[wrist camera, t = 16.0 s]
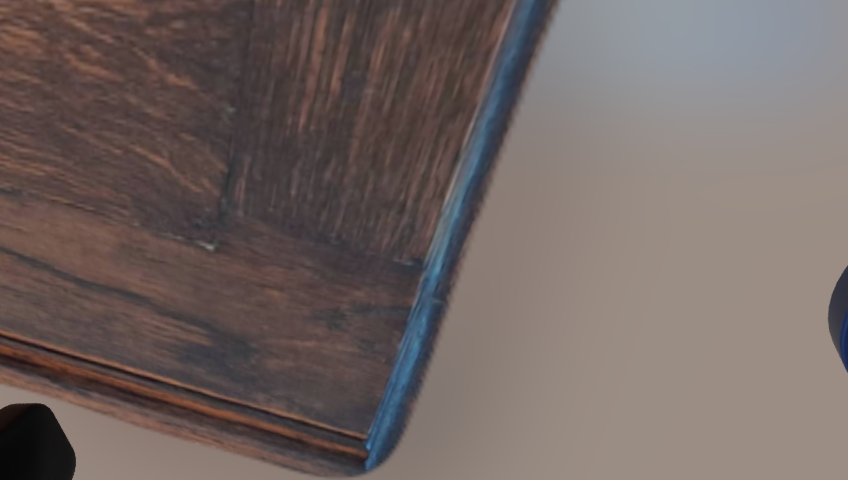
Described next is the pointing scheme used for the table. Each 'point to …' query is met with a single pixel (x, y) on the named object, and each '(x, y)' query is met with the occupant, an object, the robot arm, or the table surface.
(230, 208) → the table surface
